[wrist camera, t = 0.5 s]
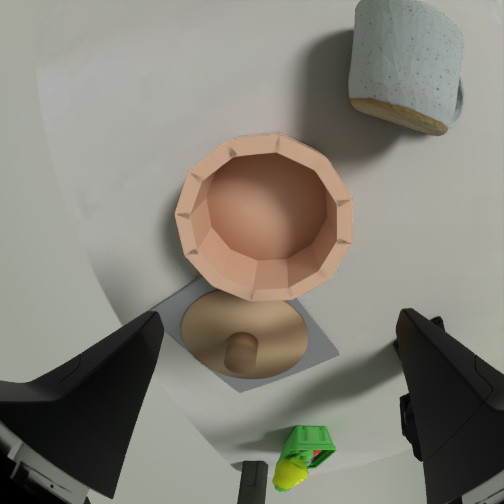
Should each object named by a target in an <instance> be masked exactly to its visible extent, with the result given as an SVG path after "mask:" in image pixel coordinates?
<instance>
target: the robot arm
mask: <svg viewBox="0 0 504 504" xmlns="http://www.w3.org/2000/svg"><path fill="white" fill-rule="evenodd" d="M396 335H397V340H398V341H396V342H395V343H394V344H393V346H394V348H395V350H396V352H397V354H398V356H399V358H400V360H401V362H402V367H403V371H404V375H405V379H406V382H407V386H408V390H409V393H407V394H406V395H403V396H401V397H400V413H401V426H402V434H403V436H405V437H406V438H407V440H408V441H409V442H410V443H411V444H412V447H413V453H414V456H415V457H416V458H417V459H418V460H419V461H421V462H422V461H423V462H424V463H423V467H424V476H425V484H426V496H427V504H504V374H502V373H501V372H499V371H498V370H496V369H495V368H493V367H492V366H491V365H489V364H488V363H487V362H485V361H484V360H482V359H481V358H480V357H479V356H477V355H475V354H474V353H473V352H472V351H471V350H469V349H468V348H467V347H465V346H464V345H463V344H461V343H460V342H459V341H457V340H456V339H454V338H453V337H452V336H450V335H449V334H448V333H446V332H445V328H444V324H443V320H442V318H441V317H440V316H439V317H437V318H435V319H433V320H432V321H430V320H428V319H427V318H425V317H424V316H422V315H421V314H420V313H418V312H417V311H415V310H414V309H412V308H405V309H402V310H401V311H400V314H399V318H398V321H397V325H396ZM163 336H164V326H163V323H162V320H161V317H160V314H159V312H157V311H146V312H145V313H143V314H142V315H140V316H139V317H137V318H135V319H134V320H132V321H131V322H129V323H128V324H126V325H124V326H123V327H121V328H120V329H118V330H117V331H115V332H113V333H112V334H110V335H109V336H107V337H105V338H104V339H102V340H101V341H99V342H98V343H96V344H95V345H93V346H91V347H90V348H88V349H87V350H85V351H84V352H82V354H79V355H77V356H76V357H74V358H73V359H71V360H69V361H68V362H66V363H64V364H63V365H61V366H59V367H57V368H55V369H54V370H52V371H50V372H48V373H46V374H44V375H42V376H40V377H38V378H37V379H35V380H33V381H30V382H26V383H14V382H7V381H0V504H91V503H90V501H89V499H88V497H87V493H88V491H89V489H91V490H93V491H95V492H97V493H99V494H101V495H104V496H106V497H108V498H110V499H113V497H114V493H115V490H116V486H117V483H118V479H119V476H120V472H121V469H122V466H123V462H124V459H125V455H126V452H127V448H128V445H129V442H130V439H131V436H132V433H133V430H134V427H135V424H136V421H137V418H138V414H139V412H140V409H141V406H142V403H143V400H144V397H145V394H146V392H147V389H148V386H149V383H150V380H151V378H152V375H153V372H154V369H155V366H156V363H157V359H158V355H159V351H160V347H161V343H162V339H163Z"/></svg>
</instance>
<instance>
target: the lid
mask: <svg viewBox="0 0 504 504" xmlns="http://www.w3.org/2000/svg"><path fill="white" fill-rule="evenodd" d="M182 337H183V340H184V342H185V345H186V347H187V348H188V350H189V351H190V353H191V354H192V355H193V356H194V357H195V358H196V359H197V360H198V361H199V362H201V363H202V364H203V365H205V366H206V367H208V368H210V369H211V370H213V371H215V372H218V373H220V374H223V375H226V376H229V377H234V378H240V379H264V378H269V377H273V376H276V375H279V374H282V373H284V372H286V371H288V370H289V369H291V368H292V367H294V366H295V365H296V364H297V363H298V362H299V361H300V360H301V358H302V357H303V355H304V353H305V352H306V349H307V345H308V334H307V328H306V324H305V322H304V320H303V318H302V316H301V315H300V314H299V312H298V311H297V310H296V309H295V308H294V307H293V306H292V305H291V304H289V303H288V302H287V301H285V300H277V301H256V302H250V301H248V300H245V299H243V298H240V297H238V296H235V295H233V294H230V293H228V292H225V291H223V290H221V289H217V290H214V291H211V292H208V293H206V294H204V295H202V296H201V297H199V298H198V299H196V300H195V301H194V302H193V303H192V304H191V305H190V307H189V308H188V309H187V311H186V314H185V316H184V318H183V322H182Z"/></svg>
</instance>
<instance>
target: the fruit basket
mask: <svg viewBox="0 0 504 504" xmlns="http://www.w3.org/2000/svg"><path fill="white" fill-rule="evenodd" d="M335 451H336V448H335V446H334V445H333V443H332V440H331V438H330V435H329V433H328V430H327V428H326V427H324V426H323V427H317V426H303V427H302V426H296V427H295V429H294V431H293V432H292V433H291V435H290V437H289V438H288V439H287V441H286V442H285V444H284V447H283V450H282V452H281V455H280V458H279V461H278V462H277V464H276V468H275V475H274V477H273V484H274V486H275V489H276V490H278V491H280V492H286V491H288V490H290V489H291V487H293V486H295V485H296V484H299V483H301V482H302V481H303V480H305V479H306V478H307V476H308V473H309V472H308V470H307V469H311V468H316V467H318V466H319V465H320V464H321V463H322V462H324V461H325V460H326V459H327V458H328V457H330V456H331V455H332V454H333V453H334V452H335Z"/></svg>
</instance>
